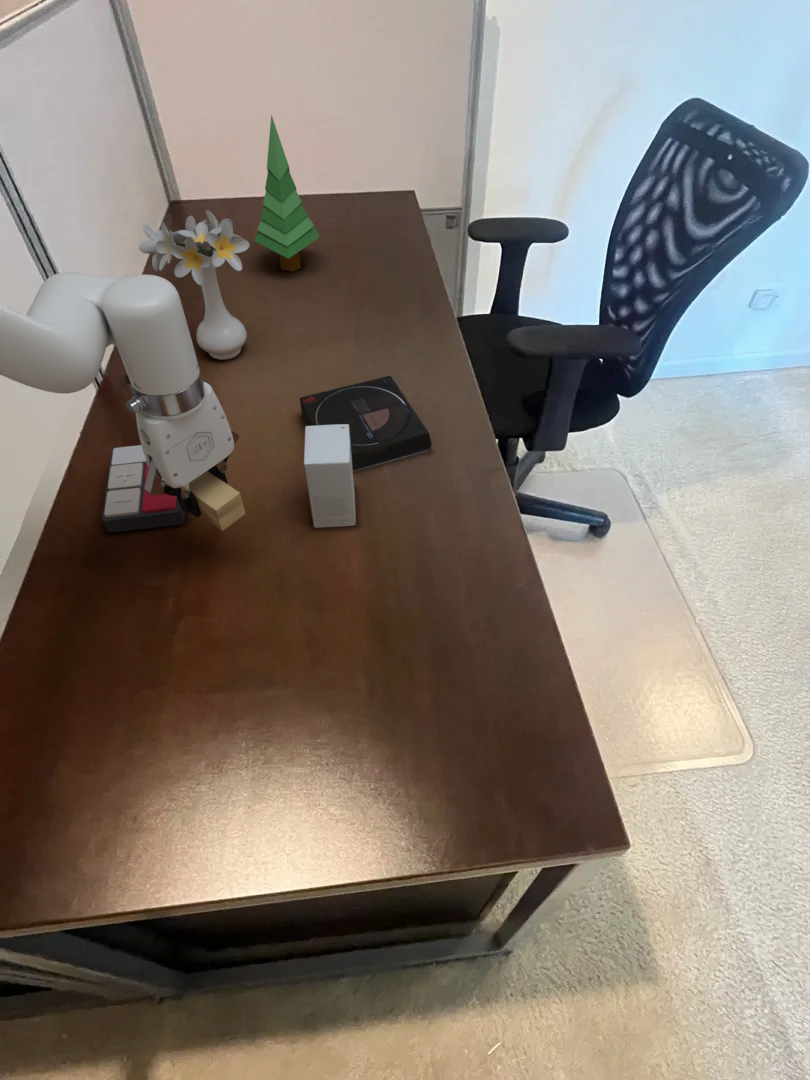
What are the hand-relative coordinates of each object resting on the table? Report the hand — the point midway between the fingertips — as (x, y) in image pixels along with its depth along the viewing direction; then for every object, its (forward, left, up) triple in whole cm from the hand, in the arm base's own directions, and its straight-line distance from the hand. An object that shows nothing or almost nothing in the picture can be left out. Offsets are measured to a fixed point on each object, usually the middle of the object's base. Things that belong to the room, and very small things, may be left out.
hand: (206, 500), depth 89 cm
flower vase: (-38, +32, -10) cm, 50 cm away
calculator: (-17, 0, -10) cm, 19 cm away
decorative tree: (-52, +64, -10) cm, 83 cm away
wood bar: (0, 0, 0) cm, 0 cm away
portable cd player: (-1, +32, -10) cm, 33 cm away
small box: (+7, +16, -10) cm, 20 cm away
